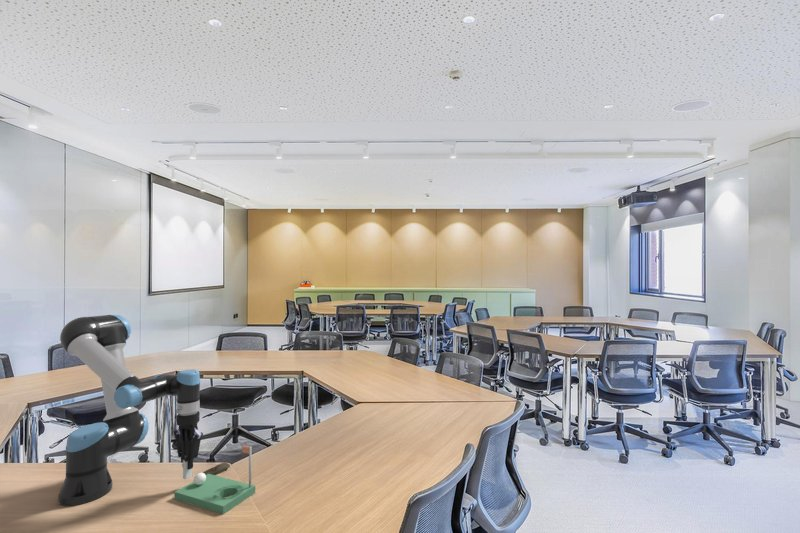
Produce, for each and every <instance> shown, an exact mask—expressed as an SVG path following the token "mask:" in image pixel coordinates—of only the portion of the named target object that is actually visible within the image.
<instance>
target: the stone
mask: <svg viewBox="0 0 800 533" xmlns="http://www.w3.org/2000/svg"><path fill="white" fill-rule="evenodd" d="M230 467H231V465H230V464H229V463H228V462H226V461H225V462H221V463H218V464H217V465H215V466H212V467H211V468H208V469H206V470H204V471H203V472H202V473H204V474H205V475H207V474H212V475H215V476H217V475H218V474H221V473H222V472H225V471H226V470H228V469H229V468H230Z"/></svg>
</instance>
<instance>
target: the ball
mask: <svg viewBox="0 0 800 533" xmlns="http://www.w3.org/2000/svg"><path fill="white" fill-rule="evenodd" d="M205 480H206V475H205V474H204V473H203V472H199V473H197V474H196V475H195V476H194V477H193V482H194V483H195V484H196V485H201V484H203V483H204V482H205Z"/></svg>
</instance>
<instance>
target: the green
mask: <svg viewBox="0 0 800 533" xmlns="http://www.w3.org/2000/svg"><path fill="white" fill-rule="evenodd" d="M241 448H242V451H241V452H242V453H244V454H248V483H246V482H242V481H239V480H234V479H230V478H226V477H223V476H220V475H219V476H218V475H212V474H207V475H206V480H205V482H204V483H203V484H201V485H196V484H195V483H194V481H192V482H190V483H189V484H187V485H184V486H183V487H181V488H179V489H177V490H175V491H174V494H173V496H174V500H176V501H180V502H182V503H185V504H189V505H192V506H195V507H198V508H202V509H204V510H205V509H206V510H209V511H212V512H215V513H218V514H221V515H225V514H226V513H227V512H229V511H231V510H232V509H233V508H236V506H238V505H239V504H241V503H242V502H244V501H245V500H247V499H249V498H250V497H252V495H254V494H256V485H254V484H252V446H246V445H242V447H241Z"/></svg>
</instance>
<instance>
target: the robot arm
mask: <svg viewBox="0 0 800 533" xmlns="http://www.w3.org/2000/svg"><path fill="white" fill-rule="evenodd" d="M131 334H132V328H131V325H130V322H129V321H128V320H127V319H126V317H124V316H122V315H119V314H107V315H106V314H104V315H96V316H95V315H94V316H81V317H76V318H75V319H74V318H73V319H72V320H70V321H69V322H67V323H66V324H65V326H64V327H63V328H62V329H61V332H60V337H59V338H60V339H59V340H60V344H61V346H62V349H64V350H65V352H67V353H68V354H69V355H70V356H73V357H77V358H78V359H79V360H80V361H81V362H82V363H84V365H86V366H87V368H89V369H90V370H91V371H92V372H93V373H94V374H95V375H96V376H98V378H100V382H101V386H102V387H101V388H102V393H103V398H104V404H105V405H104V406H105V411H106V415H105V416H104V418H103V419H102V422H94V423H90V424H86V425H83V426H80V427H78V428H77V429H75V430H73V431H72V432H71V433H70V434H69V435H68V437H67V439H66V445H65V451H66V453H65V478H64V480H63V483H62V485H61V489H60V491H59V492H58V498H57V499H58V500H57V502H59V503H60V504H59V503H58V504H59V505H61V506H66V505H70V506H78V505H81V504H86V503H88V502H92V501H94V500H97V499H100V498H102V497H103V496H106V495H107V494H108V493H110V492H111V490H112V489H113V479H112V477H111V474H110V472H109V469H108V458H109V457H110V456H113V455H116V454H118V453H120V452H122V451H123V452H124V451H125V450H127V449H131V448H134V446H136V445H138V444H140V443H142V442H143V441H144V440H145V439H146V437H147V434H148V432H149V429H150V426H149V424H150V423H149V420H148V417H146V415H145V414H144V413H140V411H139V409H138V408H137V407H136V406H139V405H141V404H144V403H148V402H150V401H153V400H156V399H160V398H162V397H163V398H164V397H167V396H169V397H171V396H173V397H176V414H177V415H176V426H178V428H177V429H175V430H173V435H174V437H175V443H176V450H177V451H176V452H177V457H178V458H180V459H181V460H182V479H184V480H188V479H190V478H191V477H193V467H194V460H195V459H196V458H198V457H199V451H200V447H201V441H202V437H203V435H204V433H203V432H202V431H201V432H200V431H199V428H198V423H199V421H200V420H201V419H200V417H201V416H200V415H201V414H200V410H201V406H200V405H201V404H200V400H201V398H200V397H201V396H200V392H201V391H200V389H201V387H200V386H201V377H200V376H201V375H200V374H201V373H200V371H199V370H198V369H194V368H193V369H184V370H179V371H178V372H177V373H176V374H168V373H164V374H156V375H154V376H153V377H152V378H149V379H146V380H141V379H140V378H139V377H137V376H136V375H135V374H134V373H133V372H132V371H130V370H129V368H128V367H126V366H127V365H126V360H125V355H124V347H125V346H126V345H127V340H128V339H129V338H130V336H131Z"/></svg>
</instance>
